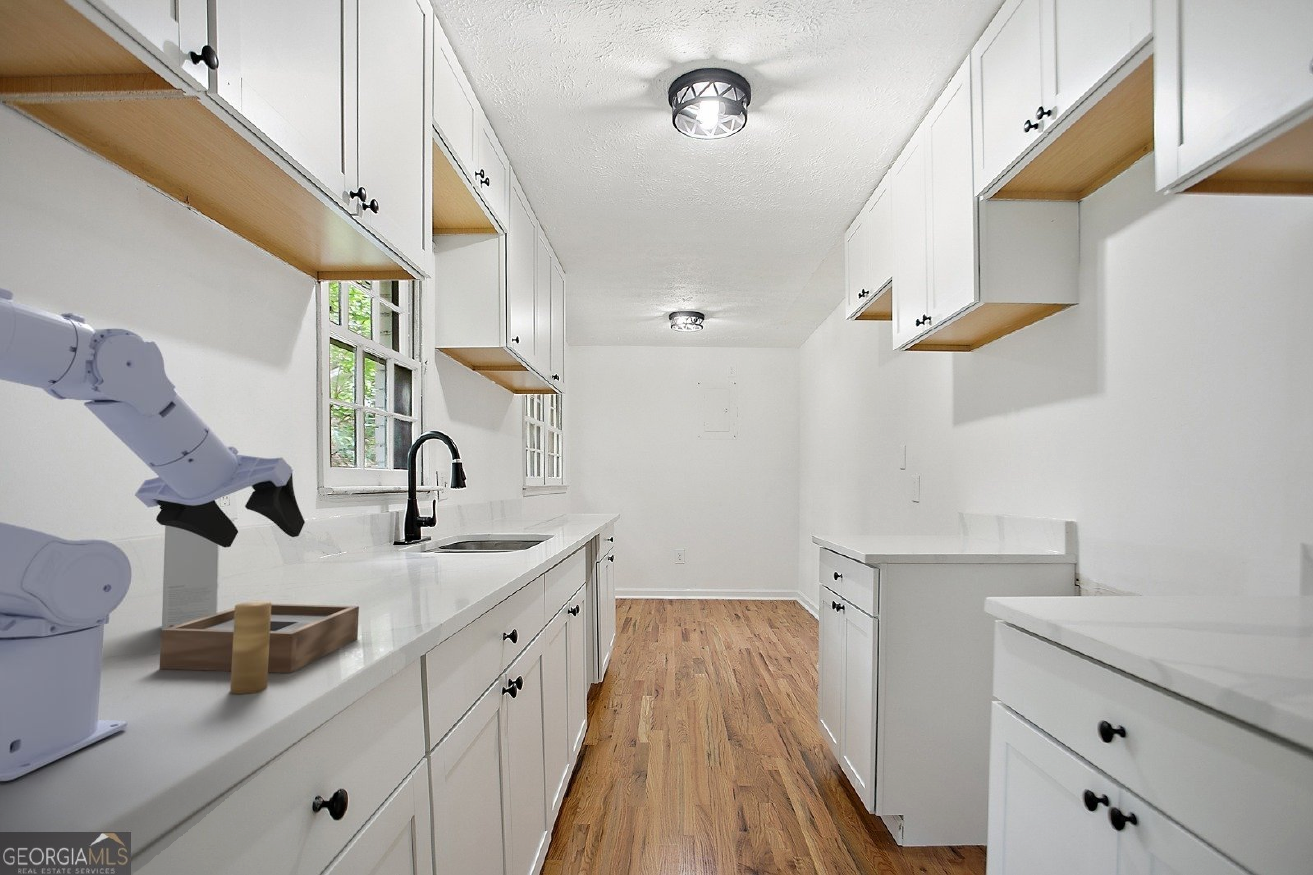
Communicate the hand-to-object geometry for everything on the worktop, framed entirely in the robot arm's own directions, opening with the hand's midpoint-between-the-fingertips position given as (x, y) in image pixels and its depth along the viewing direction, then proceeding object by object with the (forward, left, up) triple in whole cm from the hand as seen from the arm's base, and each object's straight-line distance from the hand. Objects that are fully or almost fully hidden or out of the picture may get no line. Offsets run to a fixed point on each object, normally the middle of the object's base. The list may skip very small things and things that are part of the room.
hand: (265, 534), depth 68 cm
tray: (+7, +3, -14) cm, 16 cm away
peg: (-5, -3, -14) cm, 15 cm away
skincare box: (+17, +20, -14) cm, 30 cm away
